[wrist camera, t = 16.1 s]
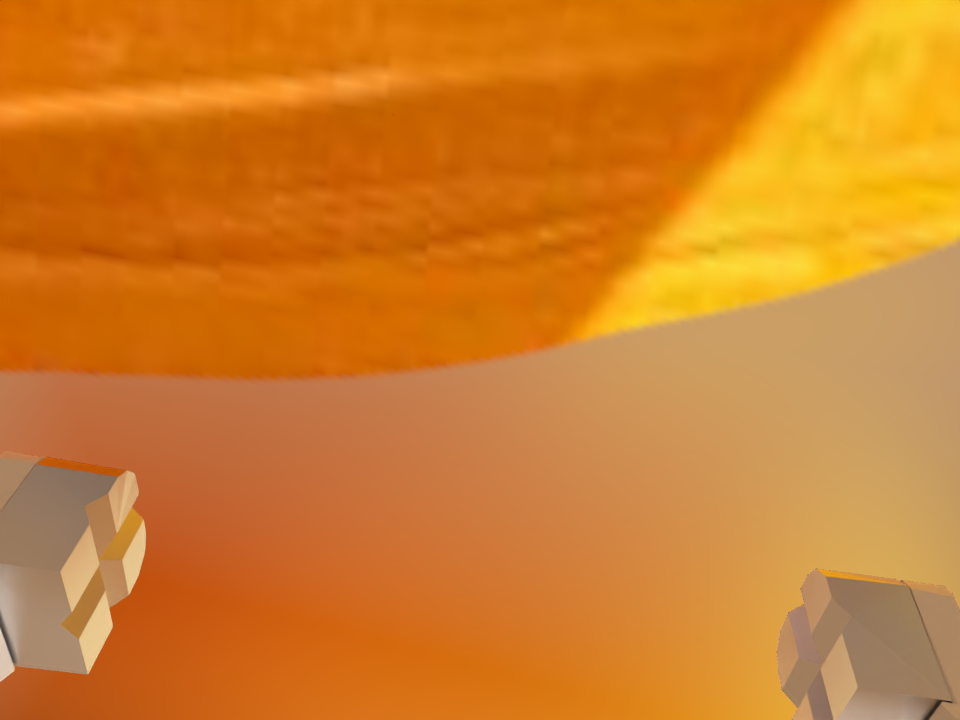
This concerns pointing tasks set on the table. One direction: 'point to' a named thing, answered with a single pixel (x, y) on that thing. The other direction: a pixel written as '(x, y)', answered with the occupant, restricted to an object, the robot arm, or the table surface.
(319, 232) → the table surface
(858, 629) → the robot arm
